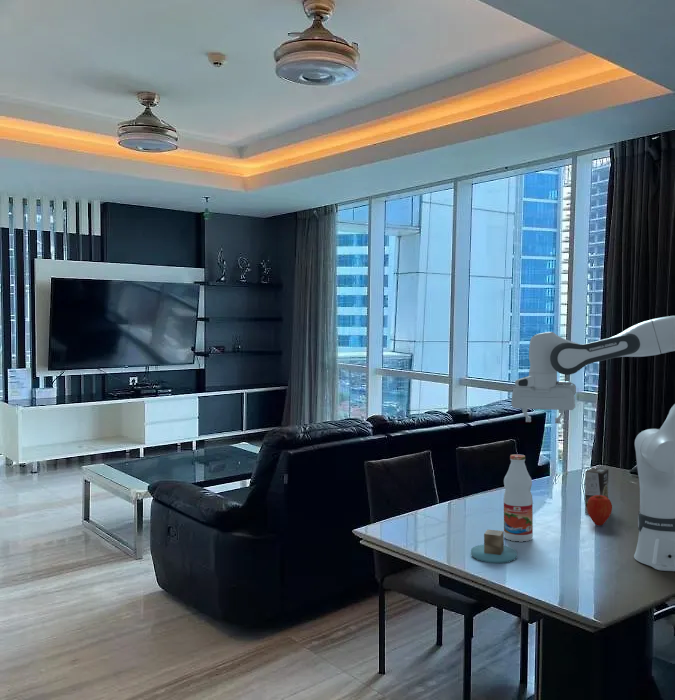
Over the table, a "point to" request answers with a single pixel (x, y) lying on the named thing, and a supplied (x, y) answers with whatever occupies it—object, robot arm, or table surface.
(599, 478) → the coffee box
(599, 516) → the strawberry
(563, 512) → the table surface
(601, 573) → the table surface
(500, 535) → the walnut block
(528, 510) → the fruit juice
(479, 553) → the dish
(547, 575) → the table surface
